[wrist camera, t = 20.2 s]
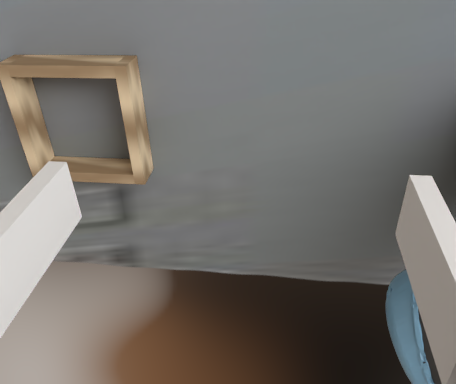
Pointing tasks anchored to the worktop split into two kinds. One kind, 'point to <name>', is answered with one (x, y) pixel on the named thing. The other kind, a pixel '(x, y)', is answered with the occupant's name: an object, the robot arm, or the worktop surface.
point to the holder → (36, 129)
